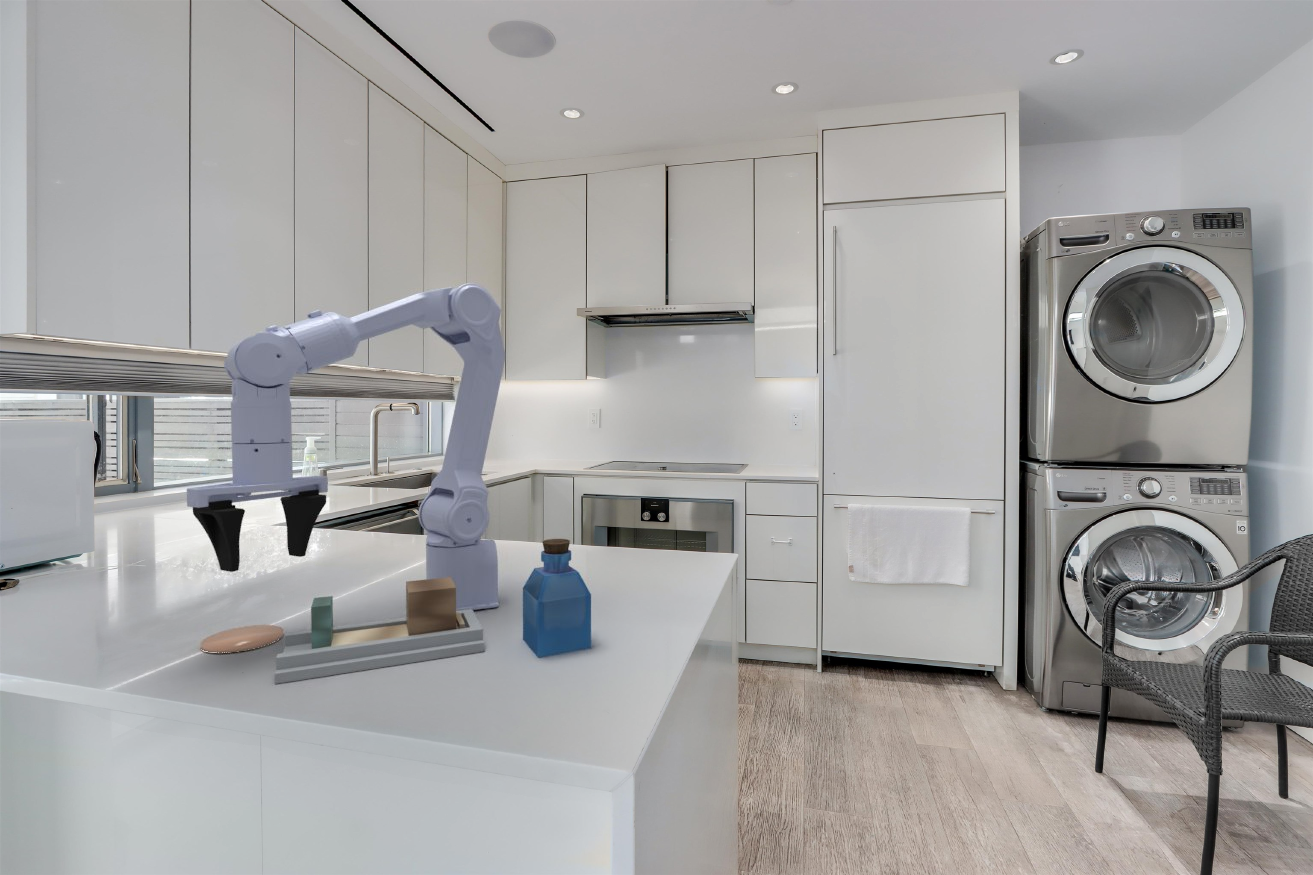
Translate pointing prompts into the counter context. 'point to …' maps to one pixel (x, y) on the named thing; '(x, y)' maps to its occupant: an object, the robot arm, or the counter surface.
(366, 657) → the lane board
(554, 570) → the perfume bottle
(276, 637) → the coaster
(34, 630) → the counter surface
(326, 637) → the multicoloured piece
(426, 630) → the walnut block
